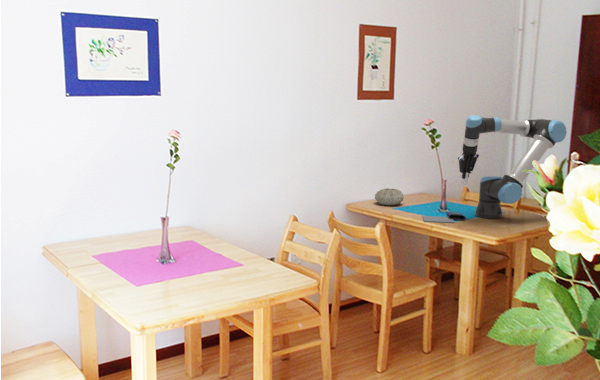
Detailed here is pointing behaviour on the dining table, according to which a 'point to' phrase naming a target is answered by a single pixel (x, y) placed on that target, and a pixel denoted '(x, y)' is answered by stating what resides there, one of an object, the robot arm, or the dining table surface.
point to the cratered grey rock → (389, 196)
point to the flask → (456, 215)
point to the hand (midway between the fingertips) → (464, 183)
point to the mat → (437, 219)
